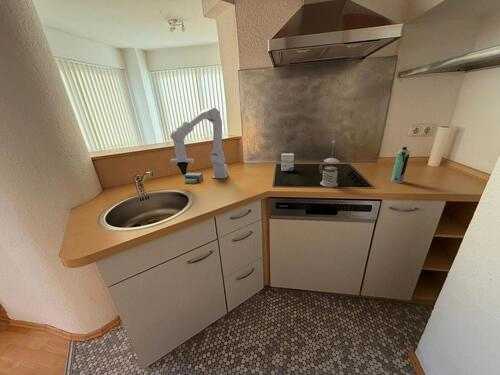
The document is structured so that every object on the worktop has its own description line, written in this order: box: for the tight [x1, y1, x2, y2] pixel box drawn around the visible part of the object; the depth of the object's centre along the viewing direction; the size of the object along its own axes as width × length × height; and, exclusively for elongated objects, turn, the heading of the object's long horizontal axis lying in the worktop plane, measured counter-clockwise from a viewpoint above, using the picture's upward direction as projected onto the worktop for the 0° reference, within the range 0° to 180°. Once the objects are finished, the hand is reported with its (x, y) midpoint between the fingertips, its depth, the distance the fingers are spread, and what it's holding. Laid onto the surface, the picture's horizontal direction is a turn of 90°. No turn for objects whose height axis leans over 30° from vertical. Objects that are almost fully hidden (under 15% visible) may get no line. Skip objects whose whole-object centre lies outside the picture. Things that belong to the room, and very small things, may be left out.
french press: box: [319, 140, 340, 188], centre depth 115 cm, size 10×12×25 cm
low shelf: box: [184, 172, 204, 183], centre depth 133 cm, size 10×5×4 cm, turn 77°
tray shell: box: [184, 177, 199, 184], centre depth 132 cm, size 7×6×2 cm
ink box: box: [280, 153, 295, 172], centre depth 145 cm, size 8×5×12 cm, turn 84°
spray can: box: [390, 146, 411, 184], centre depth 114 cm, size 6×6×20 cm
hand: (184, 174), depth 122 cm, fingers closed
